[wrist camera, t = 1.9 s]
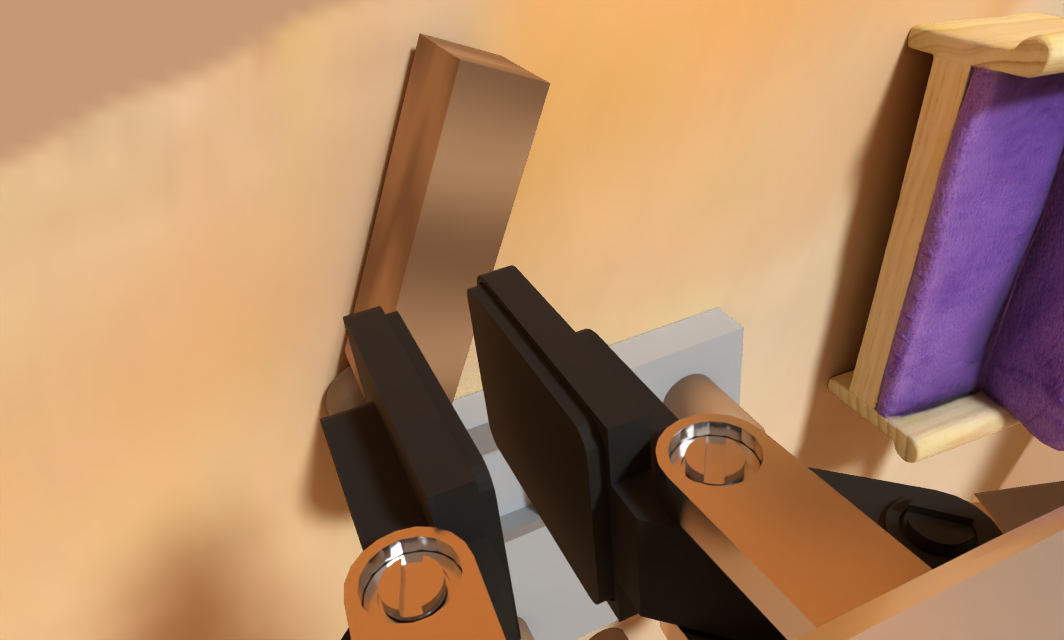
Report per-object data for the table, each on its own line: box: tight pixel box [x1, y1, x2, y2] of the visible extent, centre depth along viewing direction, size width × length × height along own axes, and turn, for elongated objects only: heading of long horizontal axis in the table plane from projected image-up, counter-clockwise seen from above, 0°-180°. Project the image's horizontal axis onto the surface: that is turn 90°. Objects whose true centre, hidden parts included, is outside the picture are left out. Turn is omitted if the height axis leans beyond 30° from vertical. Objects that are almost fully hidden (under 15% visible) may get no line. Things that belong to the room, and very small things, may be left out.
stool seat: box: [452, 308, 765, 640], centre depth 38 cm, size 17×17×6 cm
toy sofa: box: [828, 13, 1064, 463], centre depth 37 cm, size 21×9×10 cm, turn 1°
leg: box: [326, 34, 550, 416], centre depth 28 cm, size 16×4×4 cm, turn 163°
